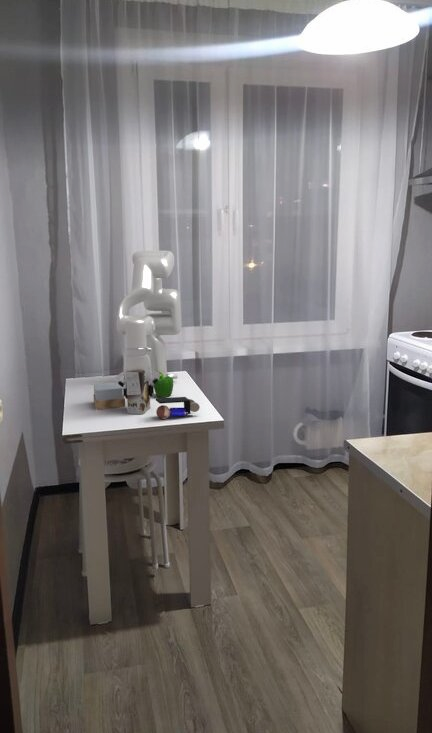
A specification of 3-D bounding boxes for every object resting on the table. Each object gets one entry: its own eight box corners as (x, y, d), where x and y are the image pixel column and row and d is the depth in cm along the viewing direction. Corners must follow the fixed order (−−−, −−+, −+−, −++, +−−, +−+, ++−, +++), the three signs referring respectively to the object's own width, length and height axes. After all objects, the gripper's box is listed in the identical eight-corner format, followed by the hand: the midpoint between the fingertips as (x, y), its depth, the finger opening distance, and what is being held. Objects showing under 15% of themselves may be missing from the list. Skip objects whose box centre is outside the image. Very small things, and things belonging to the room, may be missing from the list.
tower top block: (119, 392, 233) (118, 382, 232) (123, 398, 224) (122, 388, 223) (94, 394, 230) (93, 384, 229) (96, 400, 221) (96, 390, 220)
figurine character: (192, 415, 217) (153, 416, 211) (194, 395, 216) (155, 395, 210) (198, 420, 211) (158, 421, 205) (200, 400, 210) (160, 400, 204)
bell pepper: (175, 397, 237) (175, 373, 235) (156, 399, 234) (155, 375, 232) (171, 392, 245) (170, 369, 243) (152, 394, 242) (151, 371, 240)
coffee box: (143, 414, 214) (141, 372, 211) (127, 413, 215) (125, 371, 212) (151, 407, 223) (149, 366, 219) (135, 406, 224) (133, 366, 221)
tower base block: (121, 401, 234) (121, 391, 233) (125, 408, 224) (125, 398, 223) (94, 403, 231) (93, 394, 230) (96, 411, 221) (96, 401, 220)
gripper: (158, 348, 220) (159, 392, 224) (112, 351, 216) (114, 396, 219) (161, 352, 213) (163, 397, 217) (114, 355, 208) (116, 401, 212)
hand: (138, 396), depth 218 cm, fingers closed on coffee box, 8 cm apart
